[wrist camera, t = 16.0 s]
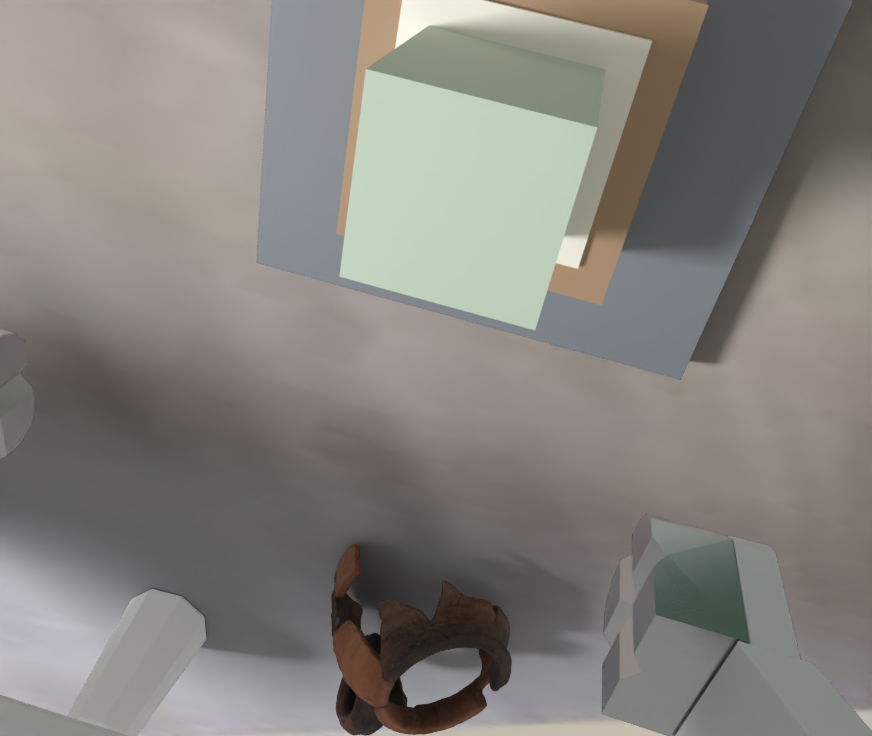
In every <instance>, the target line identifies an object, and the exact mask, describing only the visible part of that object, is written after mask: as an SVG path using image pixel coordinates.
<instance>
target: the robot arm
mask: <svg viewBox="0 0 872 736" xmlns="http://www.w3.org/2000/svg"><path fill="white" fill-rule="evenodd" d="M28 363H29V358H28V353H27V347H26V342H25V340H24V339H22V338H21V337H19V336H18V335H17V334H15V333H13V332H10V331H6V330H3V329H0V458H3V457H6V456H7V455H8V454H9V453H11V452H12V451H13V450H14V449H15V448H16V447H17V446H18V445H19V444H20V443H21V442H22V440H23V438H24V436H25V435H26V433H27V431H28V429H29V427H30V425H31V423H32V420H33V414H34V408H35V401H34V393H33V389H32V388H31V386H30V385H29V384H28V382H27V381H26V380H25V378H24V377H23V376H22V374H21V373H20V372H21V371H22V370H23V369H24V368H25V367H26V365H27V364H28ZM603 634H604V636H605V637H606V639H607V640H608V642H609V643H610V645H611V646H612V647H611V649H610V651H609V653H608V655H607V657H606V659H605V661H604V663H603V665H602V714H604V715H607V716H610V717H613V718H616V719H619V720H622V721H625V722H628V723H631V724H634V725H637V726H640V727H643V728H646V729H649V730H652V731H655V732H658V733H661V734H664V735H667V736H872V731H871V730H870V728H869V727H868V726H867V725H866V724H865V723H864V721H863V720H862V719H861V718H860V717H859V716H858V714H857V713H856V712H855V711H854V710H853V709H852V707H851V706H850V705H849V704H848V703H847V702H846V700H845V699H844V698H843V697H842V696H841V695H840V693H839V692H838V691H837V690H836V689H835V688H834V686H833V685H832V684H831V683H830V682H829V681H828V679H827V678H826V677H825V676H824V675H823V674H822V672H821V671H820V670H819V669H818V668H817V667H816V665H815V664H813V663H810V662H807V661H804V660H801V657H800V653H799V649H798V645H797V641H796V637H795V633H794V628H793V624H792V620H791V616H790V612H789V608H788V603H787V599H786V595H785V591H784V587H783V583H782V579H781V574H780V570H779V566H778V562H777V558H776V554H775V552H774V551H773V550H772V548H771V547H770V546H767V545H763V544H760V543H756V542H752V541H748V540H744V539H741V538H737V537H733V536H729V535H728V536H725V535H722V534H718V533H715V532H711V531H708V530H704V529H700V528H697V527H693V526H690V525H686V524H682V523H679V522H675V521H672V520H668V519H665V518H661V517H657V516H654V515H650V514H647V513H645V515H644V516H643V517H642V518H641V519H640V521H639V522H638V524H637V526H636V528H635V530H634V532H633V534H632V555H630V556H628V557H626V558H624V559H622V560H620V562H619V564H618V566H617V569H616V571H615V573H614V576H613V578H612V581H611V584H610V588H609V592H608V595H607V599H606V605H605V613H604V629H603ZM0 736H127V735H124V734H121V733H118V732H115V731H112V730H109V729H106V728H103V727H99V726H96V725H93V724H90V723H87V722H84V721H81V720H78V719H74V718H71V717H68V716H65V715H62V714H59V713H56V712H53V711H49V710H46V709H43V708H40V707H37V706H34V705H31V704H28V703H25V702H21V701H18V700H15V699H12V698H9V697H6V696H3V695H0Z"/></svg>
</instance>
